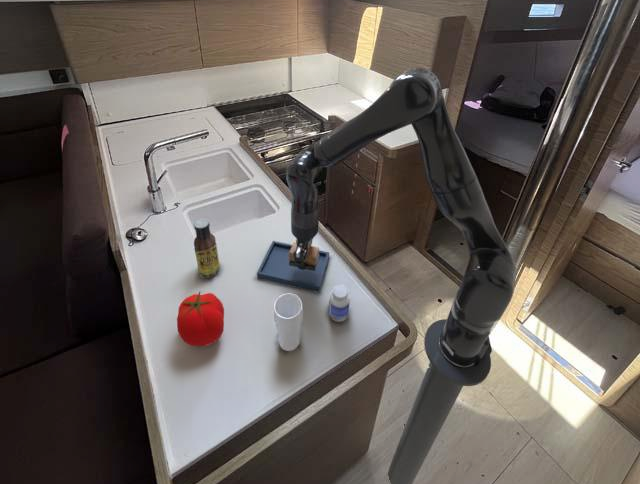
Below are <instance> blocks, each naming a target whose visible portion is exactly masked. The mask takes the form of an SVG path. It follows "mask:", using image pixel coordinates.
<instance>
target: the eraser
mask: <svg viewBox="0 0 640 484" xmlns="http://www.w3.org/2000/svg"><path fill="white" fill-rule="evenodd" d="M291 245H292V247H291V250H290V252H289V259H290V261H289V266H294V267H298V264H295V261H294V255H293V252H294V251H296V246H297V244H296V242H292V244H291ZM302 250H303V249H302ZM319 250H320V247H317V246H312V245H311V246H309V253H308V255H306V268H305V269H308V270H312V271H315V270H316V267H317V264H318V261H319ZM305 251H306V250H305Z"/></svg>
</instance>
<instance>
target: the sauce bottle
mask: <svg viewBox="0 0 640 484" xmlns="http://www.w3.org/2000/svg"><path fill="white" fill-rule="evenodd" d="M193 226H194V231H195V235H196V236H195V238H194V241H193V246H194V255H195V258H196V263H197V269H198V272H199V275H200V276H201V277H202V278H205V279H211V278H214V277H215V276H217V275H218V273H219V272H220V267H221V266H220V259H219V251H218V246H217V245H218V244H217V242H216V237H215V235H214V234H213V233H211V230H210V226H211V225H210V221H209V219H207V218H199V219H197V220H196V221H195V222H194V223H193Z"/></svg>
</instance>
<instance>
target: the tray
mask: <svg viewBox="0 0 640 484" xmlns="http://www.w3.org/2000/svg"><path fill="white" fill-rule="evenodd" d="M292 245H293V244H290V243H286V242H282V241H276V240H272V242H271V244H270V245H269V248H268V249H267V252H266V253H265V256H264V258H263V260H262V262H261V264H260V266H259V268H258V270H257V272H256V277H257V279H259V280H263V281H267V282H271V283H276V284H281V285H284V286H289V287H294V288H297V289H302V290H306V291H310V292H314V293H320V292H321V289H322V284H323V281H324V278H325V274H326V271H327V267H328V263H329V260H330V252H329V251H325V250H321V249H319V261H318V264H317V267H316V270H315V271H312V270H308V269H305V270H302V269H299V268H298V267H294V266H289V261H290V259H289V252H290V250H291V247H292Z"/></svg>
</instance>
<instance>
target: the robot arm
mask: <svg viewBox="0 0 640 484" xmlns="http://www.w3.org/2000/svg"><path fill="white" fill-rule="evenodd" d="M410 125H411V127H412V129H413V130H414V132H415V135H416V137H417V140H418V144H419V148H420V153H421V160H422V166H423V171H424V175H425V179H426V182H427V186H428V188H429V190H430V193H431V195H432V197H433V199H434V201H435V204H436V205H437V207H438V209H439V211H440V212H441V213H442V215H443V216H444V217H445V218H446V219H447V220H449V221H450V223H452V224H454V226H456V228H458V229H459V231H460V232H461V235H462V236H463V239H464V241H465V243H466V247H467V250H468V253H469V254H468V255H469V258H468V262H467V266H466V269H465V271H464V274H463V278H462V280H461V282H460V285H459V288H458V290H457V292H456V294H455V297H454V299H453V302H452V304H451V307H450V309H449V312H448V314H447V317H446V319H447V320H446V323H445V325H444V328H443V330H442V333H441V335H440V337H439V340H438V346H439V349H440V352H441V354H442V355H443V357H444V358H445V359H446V360H447V361H448V362H449V363H451V364H452V365H454V366H456V367H459V368H469V367H472V366H473V365H476V366H478V364H479V362H480V361H481V359H482V357H483V356H484V357H488V358H489V356H490V357H491V354H492V352H493V348H492V345H491V340H490V334H491V332H492V330H493V328H494V327H495V324H496V323H497V322H498V321H499V320H501V319H502V317H503V315H504V313H505V312H506V310H507V308H508V307H509V305H510V303H511V301H512V299H513V297H514V293H515V286H516V279H517V264H516V262H515V259H514V257H513V255H512V254H511V252H510V250H509V248H508V247H507V245H506V243H505V241H504V239H503V237H502V236H501V234H500V232H499V230H498V228H497V226H496V224H495V222H494V218H493V215H492V213H491V209H490V207H489V204H488V202H487V200H486V197H485V195H484V192H483V188H482V186H481V184H480V181H479V179H478V176H477V174H476V172H475V169H474V167H473V166H472V163H471V160H470V158H469V157H468V154H467V152H466V150H465V148H464V146H463V144H462V142H461V140H460V138H459V136H458V134H457V132H456V130H455V128H454V125H453V122H452V120H451V116H450V114H449V110H448V106H447V103H446V99H445V96H444V93H443V89H442V85H441V82H440V80H439V78H438V77H437V75H436V74H435V73H434V72H432V71H431V70H429V69H427V68H424V67H420V66H419V67H417V66H416V67H411V68H409V69H408V68H407V70H405V71H403V72H402V73H401V74H400V75H398V76H397V77H396V78H394V80H392V82H391V83H390V85H389V87H388V88H386V90H384V91H383V93H382V94H381V95H380V96H379V97H377V99H375V101H374V102H373V103H372V104H370V105H369V106H368V107H367V108H366V109H365V110H364V111H362V112H361V113H358V114H357V115H356V116H354V117H352V118H350V119H349V120H347V121H345V122H344V123H342V124H340V125H338V126H337V127H336V128H334V129H332V130H331V131H330V132H328V133H327V134H326V135H323V136H322V137H321V138H319V140H318V141H316V142H313V143H311V144H310V145H308V146H306V147H305V148H303V149H302V150H301V151H299V152H298V154H297V155H296V156H295V157H294V158H293V159H292V160H291V162H289V164H288V166H287V167H286V172H285V179H286V183H287V186H288V189H289V191H290V194H291V208H290V231H291V234H292V236H293V237H294V238H295V239H296V240H295V243H296V244H297V246H296V251H294V252H293V255H294V261H295V264H298V268H299V269H302V270H305V268H306V255H308V253H309V246H312V244H313V240H314V238H315V237H316V236H317V235H318V233H319V219H320V218H319V217H320V214H319V213H320V210H319V189H318V187H317V186H316V185H315V184H314V182H315V179H316V178H317V177H318V175H319V174H320V172H321V171H323V170H324V169H325V168H332V167H335V166H337V165H339V164H340V163H342V162H344V161H346V160H348V158H350V157H351V156H353V155H356V154H357V153H358V152H359V151H361V150H362V149H364V148H365V147H367V146H368V145H370V144H371V143H373V142H375V141H377V140H378V139H381V138H382V137H384V136H386V135H388V134H391V133H393V132H395V131H398V130H400V129H404V128H405V127H407V126H410ZM302 249H303V250H302ZM305 250H306V251H305Z"/></svg>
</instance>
